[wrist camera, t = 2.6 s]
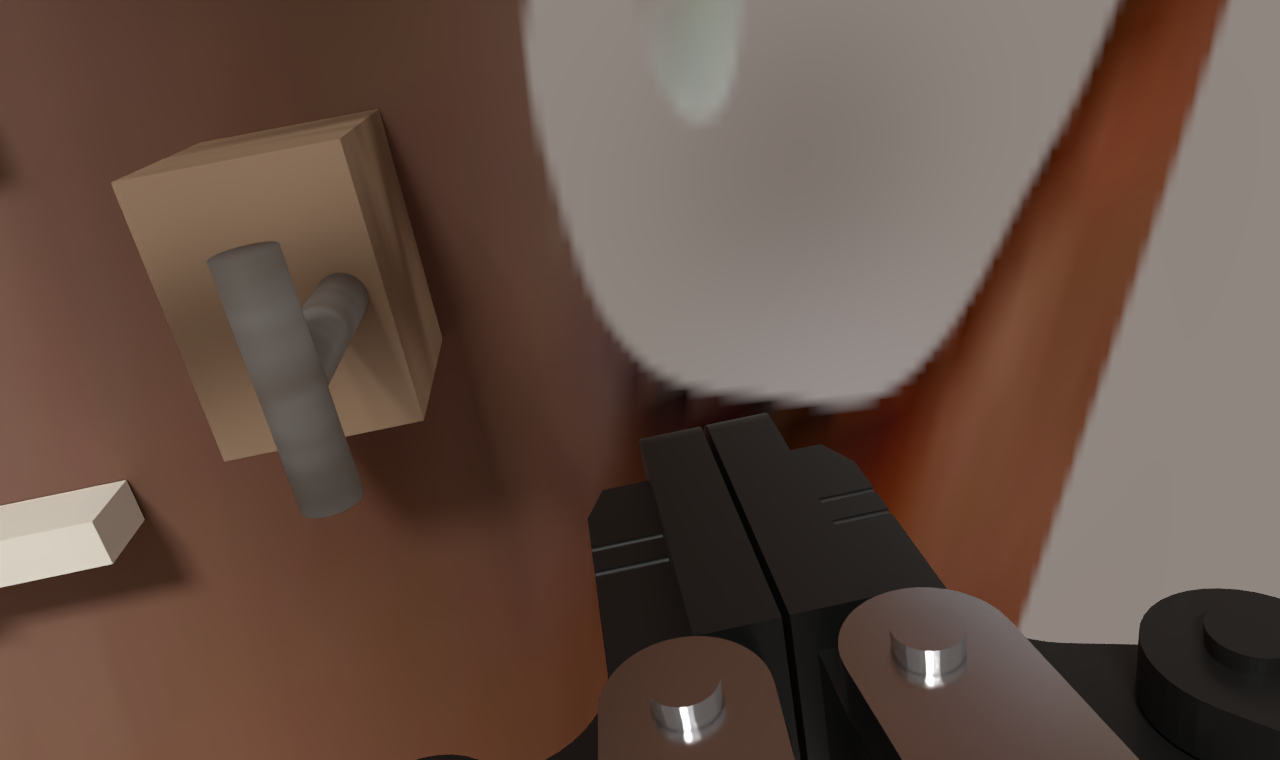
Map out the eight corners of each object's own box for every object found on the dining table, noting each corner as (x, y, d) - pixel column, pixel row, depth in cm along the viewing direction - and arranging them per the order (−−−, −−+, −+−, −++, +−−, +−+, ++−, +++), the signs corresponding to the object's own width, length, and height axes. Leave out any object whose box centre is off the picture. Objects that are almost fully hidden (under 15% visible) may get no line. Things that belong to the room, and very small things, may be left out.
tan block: (200, 142, 25) (-42, 250, 14) (378, 108, 25) (273, 190, 14) (282, 370, 28) (132, 605, 17) (443, 337, 28) (394, 550, 17)
